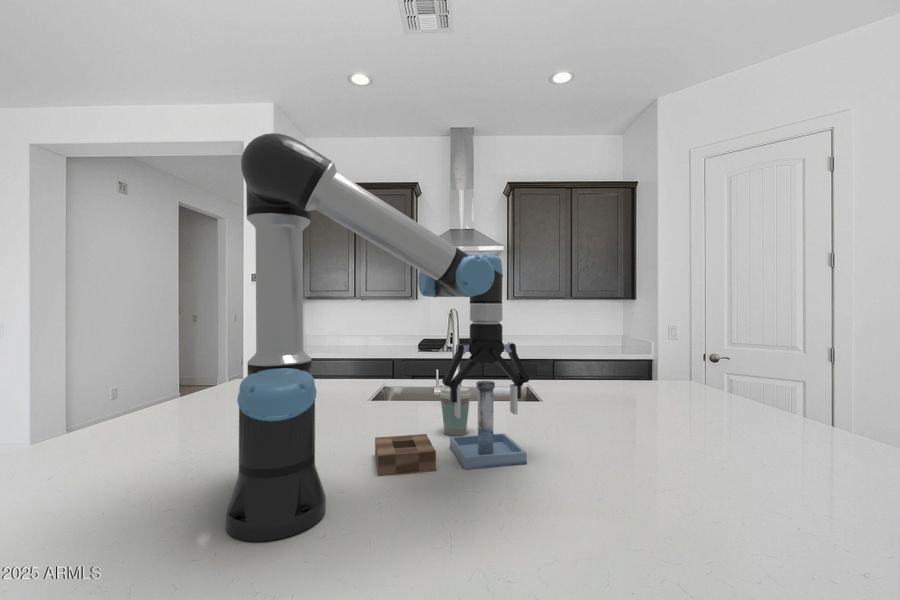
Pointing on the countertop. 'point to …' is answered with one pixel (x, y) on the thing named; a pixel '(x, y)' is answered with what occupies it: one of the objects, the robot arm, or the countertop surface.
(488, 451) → the pin
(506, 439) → the tray
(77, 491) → the countertop surface
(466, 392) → the coffee cup
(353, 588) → the countertop surface
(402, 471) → the socket block
